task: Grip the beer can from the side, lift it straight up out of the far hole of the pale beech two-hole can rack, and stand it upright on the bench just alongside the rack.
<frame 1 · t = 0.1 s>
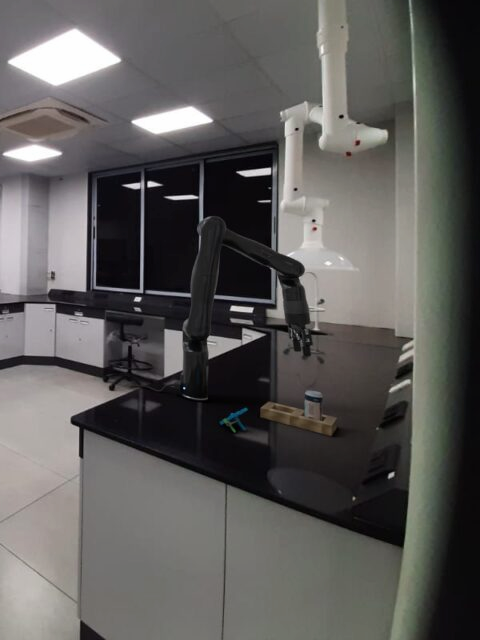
hand: (302, 353, 153), 22 cm above the countertop, tool pointing down, fingers open, 8 cm apart
blue-green rod frame: (232, 428, 137), on the countertop
can rack: (297, 422, 143), on the countertop
beer can: (313, 427, 140), resting in can rack
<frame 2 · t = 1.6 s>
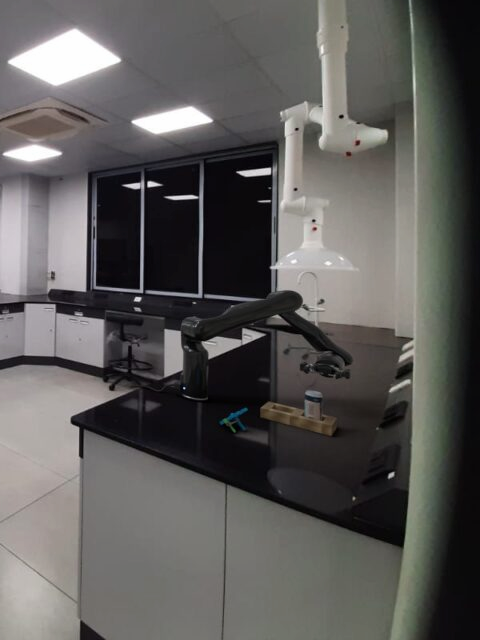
hand: (321, 373, 147), 17 cm above the countertop, tool horizontal, fingers open, 8 cm apart
nothing on the countertop moved.
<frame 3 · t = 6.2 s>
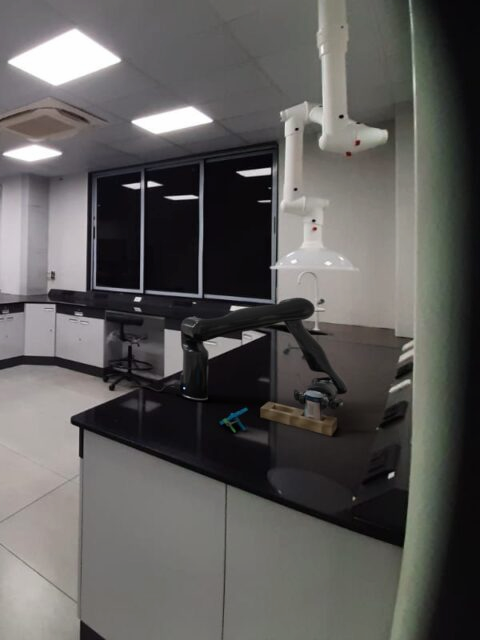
hand: (312, 403, 138), 9 cm above the countertop, tool horizontal, fingers closed on beer can, 4 cm apart
beer can: (313, 427, 140), resting in can rack, touching gripper
everything else where it was.
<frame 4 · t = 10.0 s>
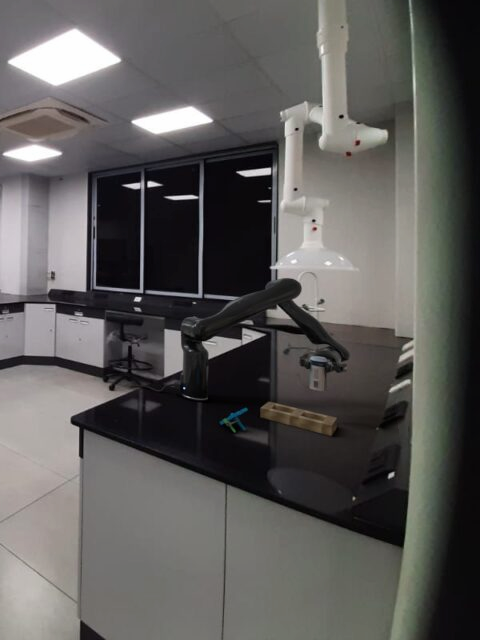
hand: (317, 368, 143), 20 cm above the countertop, tool horizontal, fingers closed on beer can, 4 cm apart
beer can: (317, 390, 145), point 11 cm above the countertop, touching gripper
everything else where it was.
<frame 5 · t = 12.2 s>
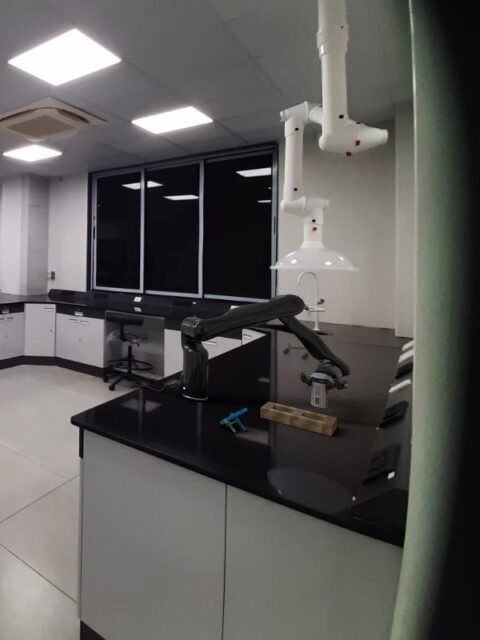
hand: (318, 385, 145), 13 cm above the countertop, tool horizontal, fingers closed on beer can, 4 cm apart
beer can: (319, 407, 147), point 4 cm above the countertop, touching gripper
everything else where it was.
when the fingers open (8 cm above the countertop, at t = 13.9 s): beer can stays where it is, on the countertop.
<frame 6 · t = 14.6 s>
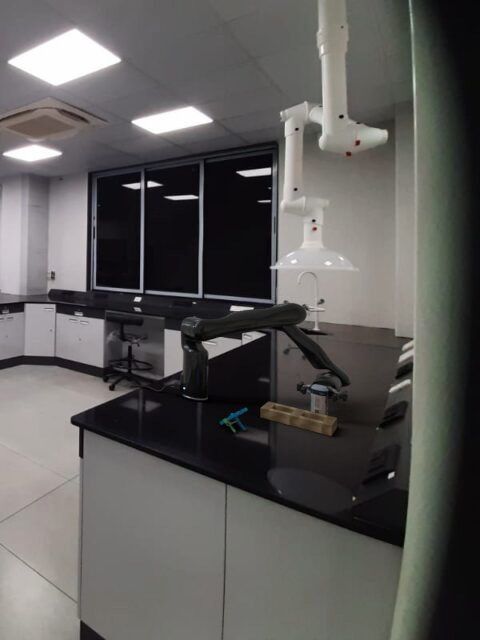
hand: (318, 395, 146), 9 cm above the countertop, tool horizontal, fingers open, 8 cm apart
beer can: (318, 419, 147), on the countertop
everything else where it was.
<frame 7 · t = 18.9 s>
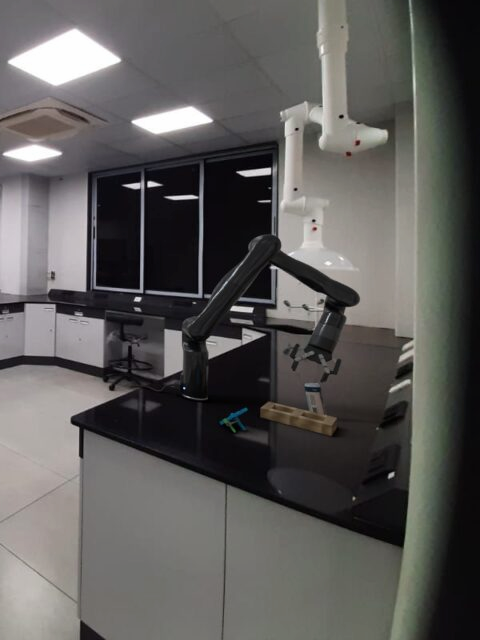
hand: (307, 376, 151), 14 cm above the countertop, tool tilted 20°, fingers open, 8 cm apart
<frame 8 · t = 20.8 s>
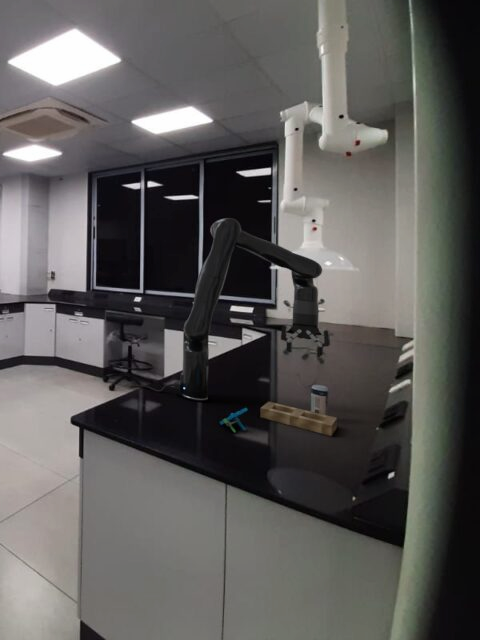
hand: (304, 354, 154), 22 cm above the countertop, tool pointing down, fingers open, 8 cm apart
at the end: beer can inside the target area (0.1 cm from its centre), on the countertop; beer can tilted 0°; the gripper is holding nothing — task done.
